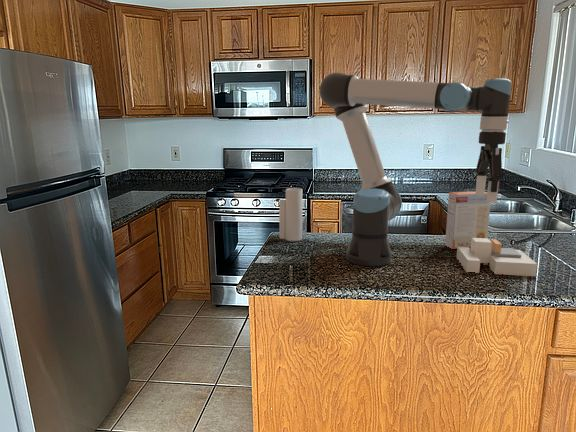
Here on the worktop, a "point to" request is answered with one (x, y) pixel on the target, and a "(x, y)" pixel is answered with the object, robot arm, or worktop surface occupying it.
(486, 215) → the cracker box
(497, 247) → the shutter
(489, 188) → the robot arm
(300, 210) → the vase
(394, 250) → the worktop surface
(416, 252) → the worktop surface
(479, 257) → the plug
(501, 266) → the socket
